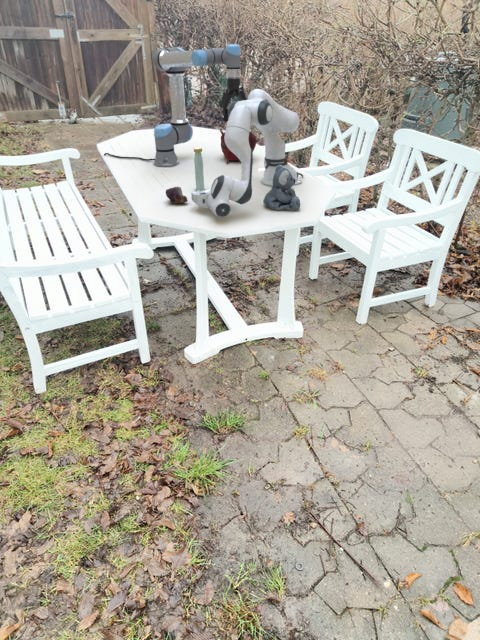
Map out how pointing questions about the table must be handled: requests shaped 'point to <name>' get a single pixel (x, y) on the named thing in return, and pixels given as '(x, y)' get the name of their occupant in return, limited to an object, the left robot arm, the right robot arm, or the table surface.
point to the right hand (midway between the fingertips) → (208, 190)
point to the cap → (197, 149)
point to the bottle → (199, 171)
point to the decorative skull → (231, 155)
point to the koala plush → (282, 191)
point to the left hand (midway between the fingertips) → (234, 119)
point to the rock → (176, 195)
